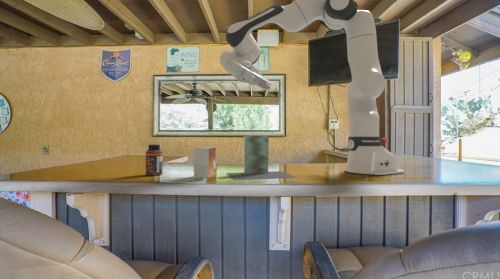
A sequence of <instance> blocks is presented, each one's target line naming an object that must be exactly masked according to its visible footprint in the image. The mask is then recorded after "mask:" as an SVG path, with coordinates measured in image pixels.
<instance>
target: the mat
mask: <svg viewBox="0 0 500 279" xmlns="http://www.w3.org/2000/svg"><path fill="white" fill-rule="evenodd" d="M225 173H226V175H227V176H228V177H230V178H231V179H232V180H233V181H250V180H251V181H252V180H254V181H256V180H278V179H279V180H280V179H297V178H298V177H297V176H294V175H292V174H290V173H287V172H285V171H282V170H277V171H273V170H272V171H271V170H270V171H268V173H256V174H244V171H243V172H225Z"/></svg>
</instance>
